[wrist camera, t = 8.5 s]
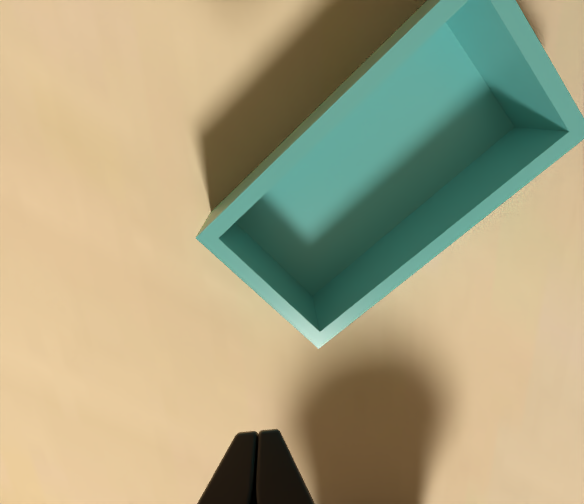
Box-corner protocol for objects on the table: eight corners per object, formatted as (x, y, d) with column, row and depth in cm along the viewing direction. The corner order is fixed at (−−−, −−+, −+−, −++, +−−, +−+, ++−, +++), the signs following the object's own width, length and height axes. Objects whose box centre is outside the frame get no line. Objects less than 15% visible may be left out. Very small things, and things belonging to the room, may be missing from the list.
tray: (522, 126, 17) (591, 132, 13) (310, 303, 20) (318, 348, 16) (434, -9, 15) (488, -47, 11) (211, 210, 18) (195, 237, 14)
